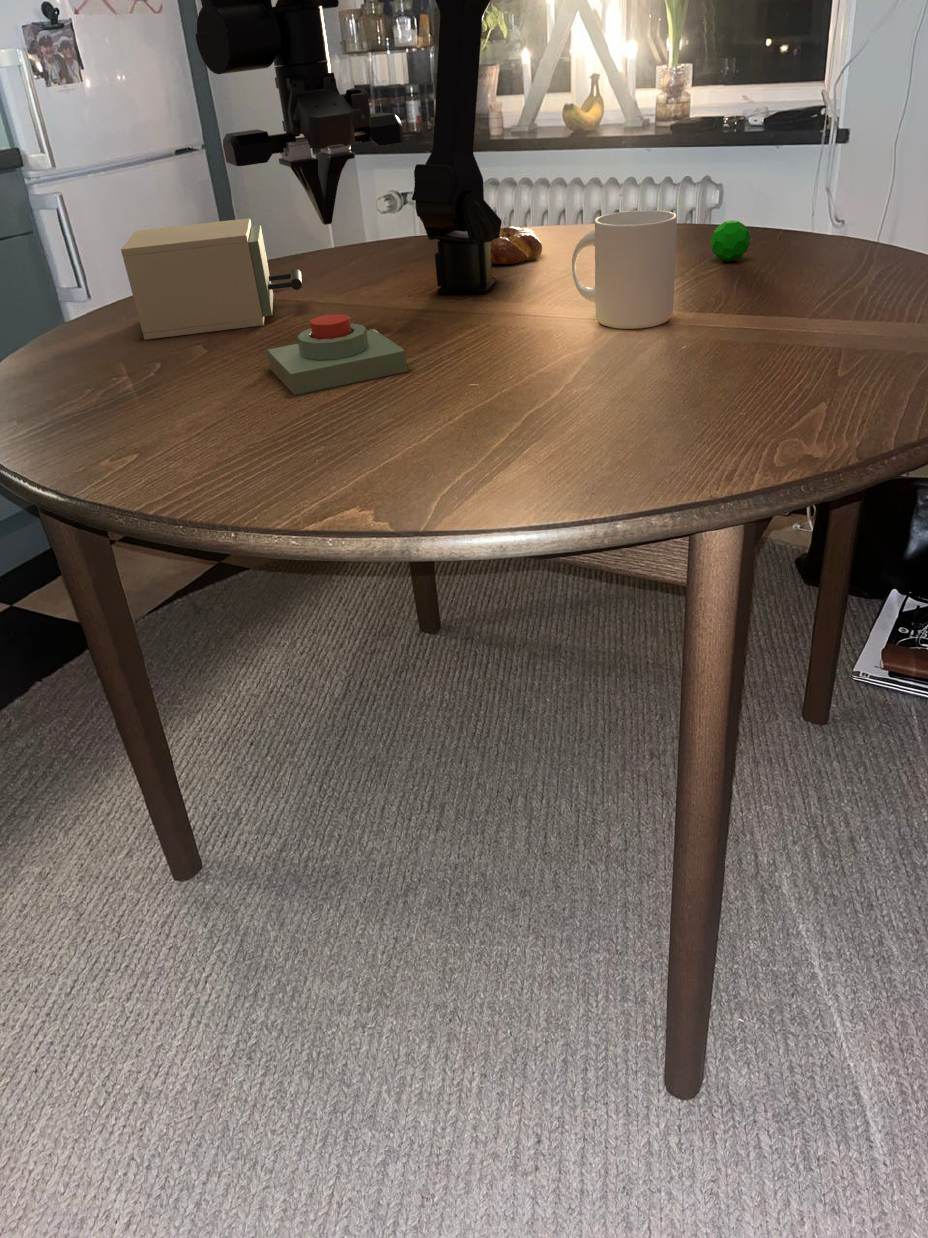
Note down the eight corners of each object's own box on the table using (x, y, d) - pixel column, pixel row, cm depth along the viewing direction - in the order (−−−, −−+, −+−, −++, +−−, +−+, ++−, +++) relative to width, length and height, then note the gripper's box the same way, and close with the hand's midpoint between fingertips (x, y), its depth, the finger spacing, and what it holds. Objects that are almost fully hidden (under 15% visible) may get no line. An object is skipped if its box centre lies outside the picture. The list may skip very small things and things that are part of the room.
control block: (376, 348, 104) (371, 311, 102) (407, 371, 96) (403, 332, 94) (270, 369, 100) (263, 332, 98) (294, 395, 92) (286, 355, 90)
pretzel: (470, 251, 144) (468, 226, 142) (541, 246, 143) (541, 220, 141) (466, 269, 134) (464, 241, 132) (542, 263, 133) (541, 236, 131)
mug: (591, 304, 112) (590, 208, 107) (685, 312, 106) (690, 210, 100) (555, 323, 107) (552, 222, 101) (652, 333, 100) (655, 226, 95)
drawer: (304, 291, 127) (293, 221, 122) (306, 311, 117) (293, 236, 112) (171, 306, 125) (154, 236, 120) (162, 329, 115) (143, 253, 111)
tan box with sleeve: (265, 301, 127) (250, 217, 121) (263, 325, 116) (246, 234, 111) (156, 314, 126) (135, 230, 120) (144, 339, 115) (120, 249, 109)
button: (345, 328, 98) (342, 311, 98) (356, 337, 95) (354, 319, 94) (308, 335, 97) (305, 318, 96) (319, 344, 94) (316, 326, 93)
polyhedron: (748, 255, 127) (751, 217, 125) (747, 263, 123) (750, 224, 121) (711, 256, 129) (713, 218, 126) (708, 264, 125) (710, 226, 122)
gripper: (230, 74, 88) (264, 248, 97) (413, 53, 94) (430, 219, 102) (207, 73, 97) (240, 233, 105) (376, 54, 103) (394, 207, 111)
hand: (327, 223), depth 106 cm, fingers closed
